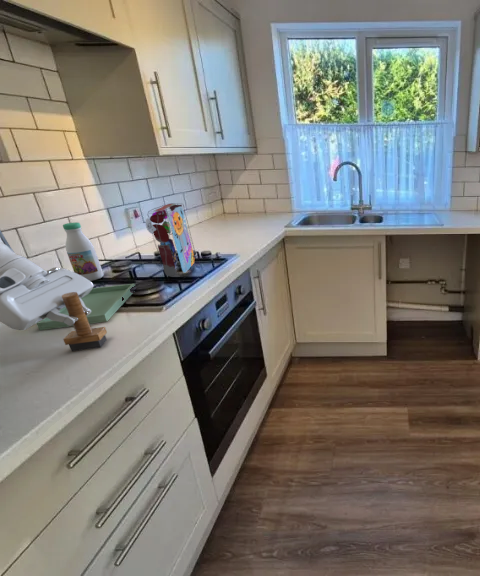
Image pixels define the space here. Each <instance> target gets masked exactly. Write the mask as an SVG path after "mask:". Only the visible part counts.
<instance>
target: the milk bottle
mask: <svg viewBox="0 0 480 576" xmlns="http://www.w3.org/2000/svg"><path fill="white" fill-rule="evenodd" d="M62 227H63V230H64V232H65V233H66V240H65V251H66V254H67V257H68V260H69V262H70V265H71V267H72V271H73V272H75V273H77V274H79V275H80V276H82V277H84V278H86V279H88V280H89V281H91V282H92V281H97V280H99V279H101V278H103V277H104V271H103V269H102V266H101V263H100V259H99V257H98V254H97V251H96V248H95V246H94V244H93V243H92V241H91V239H89V238H88V237H87V236H86V235H85V233H84V231H82V225H81V223H80V222H78V221H77V222H75V221H74V222H68V223H64V224H63V225H62Z"/></svg>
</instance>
